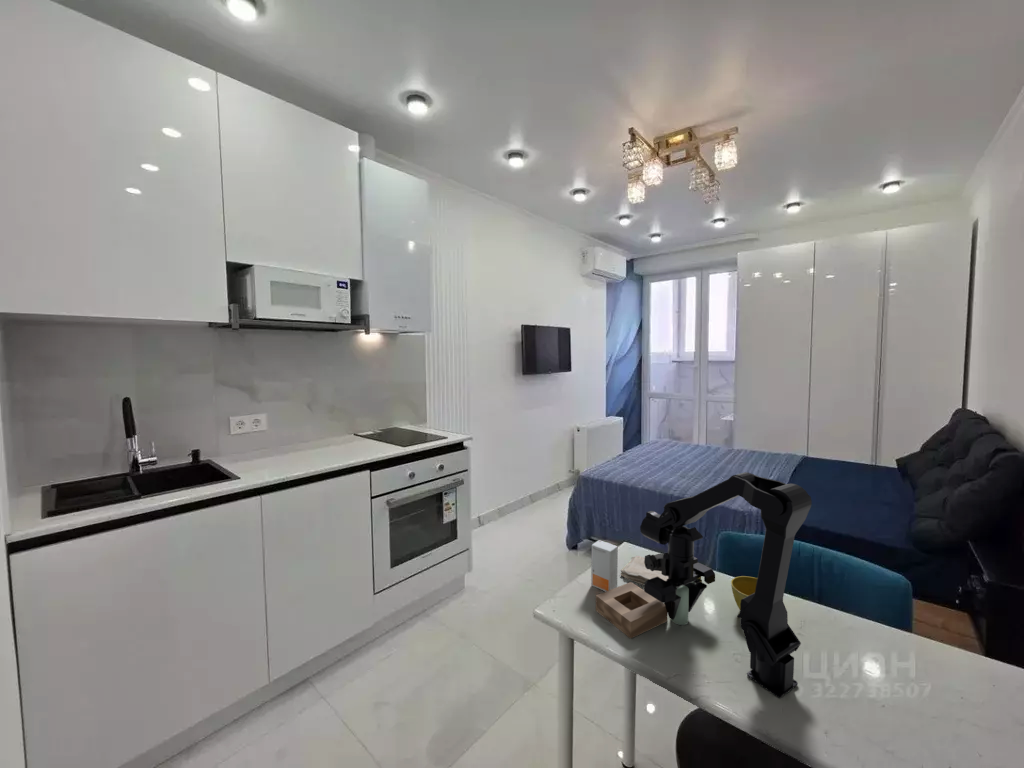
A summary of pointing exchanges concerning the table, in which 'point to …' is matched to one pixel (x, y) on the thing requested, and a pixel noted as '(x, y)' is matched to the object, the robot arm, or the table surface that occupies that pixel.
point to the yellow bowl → (743, 587)
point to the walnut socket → (631, 609)
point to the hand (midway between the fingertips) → (679, 614)
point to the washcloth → (639, 571)
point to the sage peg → (682, 606)
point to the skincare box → (604, 565)
